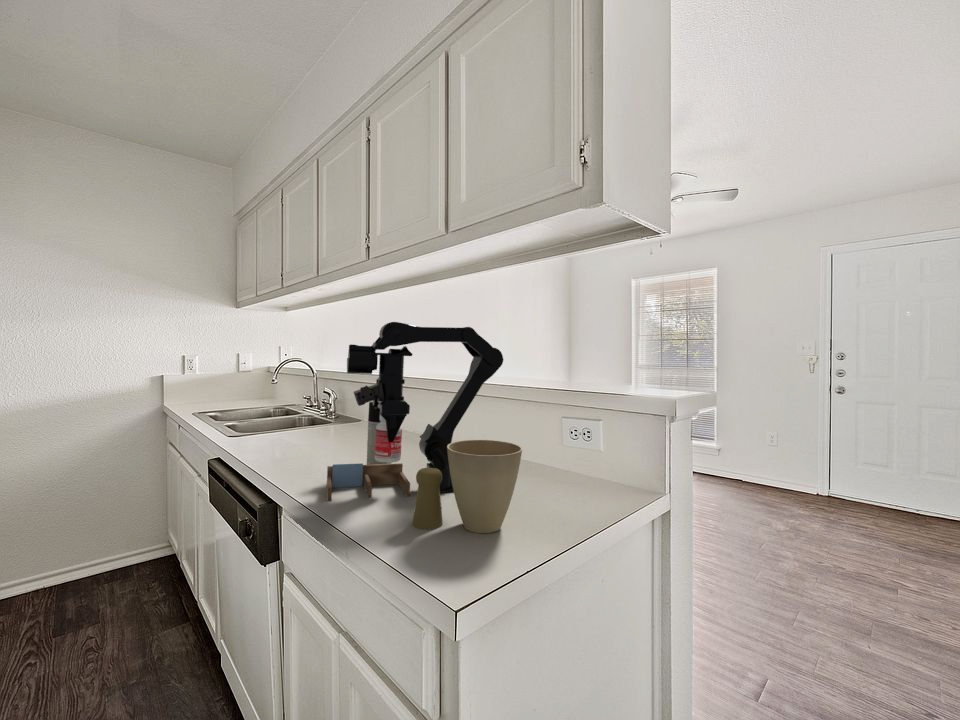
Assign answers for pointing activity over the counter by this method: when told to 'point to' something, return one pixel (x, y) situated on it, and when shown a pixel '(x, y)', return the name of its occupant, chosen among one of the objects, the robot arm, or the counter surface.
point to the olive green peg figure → (428, 499)
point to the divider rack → (365, 477)
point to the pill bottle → (387, 444)
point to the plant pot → (483, 481)
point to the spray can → (372, 434)
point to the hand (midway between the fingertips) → (388, 439)
